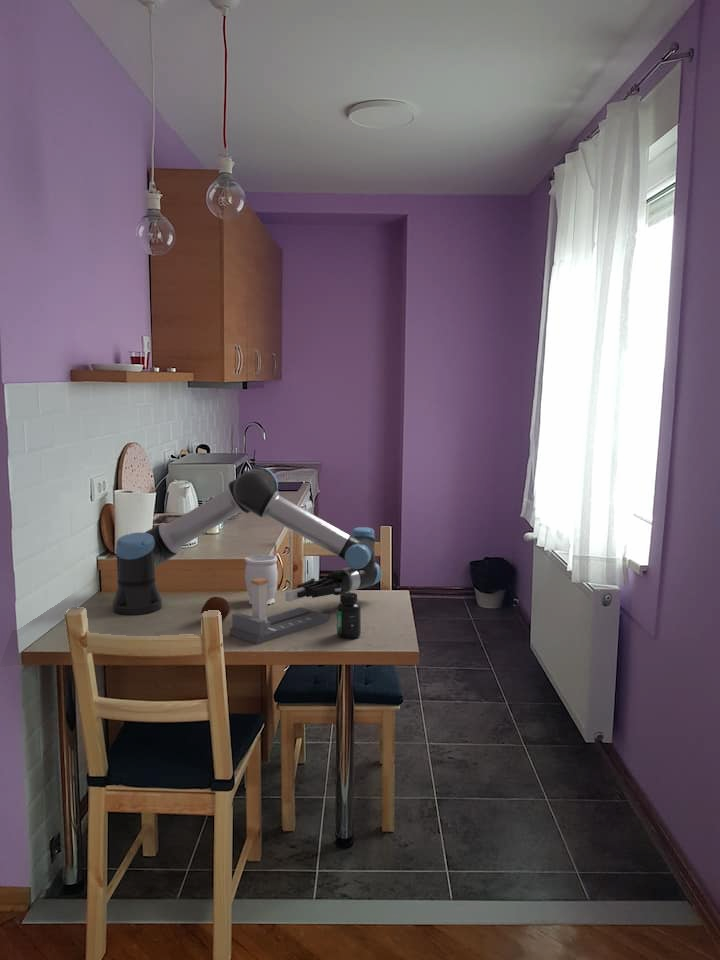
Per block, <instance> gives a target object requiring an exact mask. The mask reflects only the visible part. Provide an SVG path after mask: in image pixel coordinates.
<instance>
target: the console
mask: <svg viewBox="0 0 720 960" xmlns="http://www.w3.org/2000/svg"><path fill="white" fill-rule="evenodd" d="M231 618H232V619H231V620H232V622H231V624H232V626H231V627H230V628H229V635H230V636H231V635H233V636H232V637H234V636H235V638H237V637H238V639H240V640H244V641H246V642H250V643H252V644H256V645H259V644H262V643H265V642H269V641H272V640H275V639H278V638H281V637H284V636H286V635H290V634H293V633H297V632H299V631H302V630H305V629H309V628H312V627H315V626H318V625H320V624H324V623H327V622H329V614H327V613H323V612H319V611H316V610H313V609H309V608H304V607H296V608H294V609H293V608H292V609H290V610H287V611H284V612H280V613H277V614H273V615H269V616H267V621H270V622H271V626H270V627H266V628H265V620H261V619H258V618H255V617H252V615H248V614H244V613H241V612H234V613H232V614H231Z"/></svg>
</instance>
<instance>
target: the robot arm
mask: <svg viewBox="0 0 720 960" xmlns="http://www.w3.org/2000/svg"><path fill="white" fill-rule="evenodd" d="M278 489H279V482H278V478H277V477H276V476H275V474H274V473H273V472H272V471H271V470H270V469H268V468H266V467H255V468H252V469H250V470H248V471H246V472H244V473H242V474H240V475H239V476H238V477H236V478H234V479H233V480H232V481H230V482H229V483H228V486H227V488H226V490H224V491H221V493H219V494H217V495H215V496H213V497H212V498H210V499H208V500H207V501H205V502H204V503H201V504H200V505H199V506H196V507H195V508H193V509H192V510H189V512H187V513H184V514H183V515H181V516H179V517H178V518H177V519H175V520H173V521H171V522H170V523H167V522H161V523H159V524H157V525H155V526H154V527H152V528H150V529H148V530H146V531H144V532H131V533H128V534H124V535H122V536H121V537H119V538H118V539H117V540H116V545H115V546H116V547H115V556H116V557H115V558H116V575H117V577H116V578H117V588H116V591H115V594H114V598H113V601H112V611H113V612H114V613H115V614H119V615H128V616H129V615H131V616H133V615H135V616H136V615H144V614H149V613H154V612H156V611H159V610H160V609H161V608H162V607H163V601H162V600H163V599H162V597H161V594H160V591H159V589H158V586H157V584H156V581H157V580H156V567H158V566H159V565H161V564H164V563H165V562H167V561H168V560H169V559H172V558H174V556H176V555H178V554H180V553H181V551H182V547H183V546H184V545H187V544H188V543H190V542H192V541H193V540H195V539H197V538H198V537H200V536H202V535H204V534H205V533H207V532H208V531H210V530H212V529H214V528H216V527H217V526H219V525H221V524H223V523H224V522H226V521H228V520H230V519H231V518H233V517H234V516H236V515H238V514H240V513H243V514H249V513H253V514H255V516H256V515H257V516H258V517H260V518H262V519H265V518H269V519H271V520H272V521H274V522H276V523H278V524H279V525H281V526H284V527H285V528H287V529H288V530H290V531H292V532H294V533H295V534H297V535H299V536H302V537H303V538H304V539H306V540H308V541H310V542H312V543H314V544H315V545H317V546H319V547H321V548H322V549H324V550H325V551H328V552H329V553H330V554H331V553H332V554H333V555H335V556H336V557H338V558H340V559H342V560H344V561H345V563H346V564H347V567H344V568H340V569H338V570H334V571H330V572H329V573H328V574H327V576H326V577H324V578H323V577H322V578H321V579H318V580H316V579H315V578H314V577H312V578H310V579H309V580H307V581H305V582H303V583H299V584H297V586H296V587H297V588H294V589H289V590H287V591H285V601H286V602H292V601H295V600H299V599H302V598H305V597H306V598H310V597H311V598H313V599H315V598H319V597H326V596H330V595H334V596H340V595H341V594H342V593H351V592H352V591H353V592H354V591H356V590H361V589H364V588H370V587H371V586H374V585H376V584H377V583H379V582H380V580H381V579H382V575H383V573H382V570H381V567H380V565H379V564H378V563H377V562H376V561H375V546H376V545H375V542H376V541H375V540H376V538H375V530H374V529H373V528H372V527H366V526H364V527H360V526H359V527H355V528H353V529H352V530H351V534H349V533H347V532H345V531H344V530H341V529H340V528H338V527H336V526H334V525H332V524H331V523H329V522H327V521H325V520H324V519H322V518H320V517H319V516H317V515H314V514H313V513H312V512H310V511H308V510H306V509H304V508H302V507H300V506H299V505H297V504H295V503H294V502H292V501H290V500H289V499H286V498H285V497H282V495H280V492H279V490H278Z"/></svg>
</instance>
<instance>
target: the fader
mask: <svg viewBox="0 0 720 960" xmlns="http://www.w3.org/2000/svg"><path fill="white" fill-rule="evenodd" d="M267 583H268V580H267V579H263V578H257V579H252V580H251V584H252V604H251V611H252V615H251V617H255V618H258V619H261V620H265V628H266V627H270V626H271V622H270V621H267V617H268V605H267Z"/></svg>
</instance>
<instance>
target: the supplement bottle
mask: <svg viewBox="0 0 720 960" xmlns="http://www.w3.org/2000/svg"><path fill="white" fill-rule="evenodd" d="M339 596H340V597H339V603H338V604H337V605H336V635H337V637H338V638H339V639H343V640H354V639H358V638H359V637H360V636H361V634H362V633H361V632H362V628H361V627H362V625H361V624H362V623H361V622H362V616H361V615H362V610H361V609H362V607H361V604H360V603H358V594H357V593H355V592H350V593H348V592H346V593H342V594H340V595H339Z"/></svg>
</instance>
